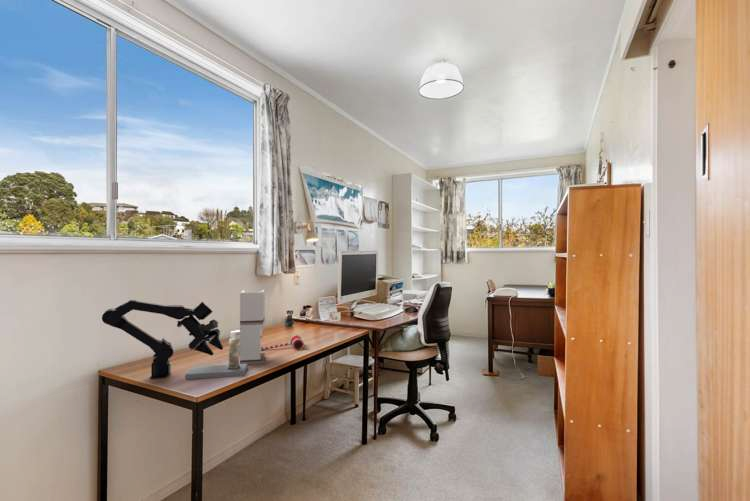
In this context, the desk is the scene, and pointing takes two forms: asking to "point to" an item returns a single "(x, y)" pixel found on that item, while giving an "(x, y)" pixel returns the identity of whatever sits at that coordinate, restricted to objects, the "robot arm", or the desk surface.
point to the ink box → (236, 336)
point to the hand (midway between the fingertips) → (217, 351)
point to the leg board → (215, 371)
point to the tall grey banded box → (251, 326)
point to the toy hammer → (294, 341)
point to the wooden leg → (233, 353)
